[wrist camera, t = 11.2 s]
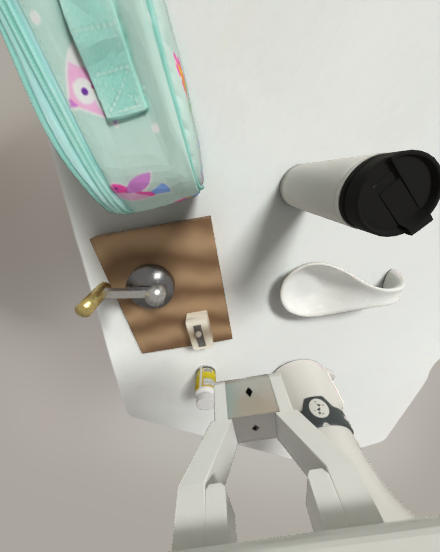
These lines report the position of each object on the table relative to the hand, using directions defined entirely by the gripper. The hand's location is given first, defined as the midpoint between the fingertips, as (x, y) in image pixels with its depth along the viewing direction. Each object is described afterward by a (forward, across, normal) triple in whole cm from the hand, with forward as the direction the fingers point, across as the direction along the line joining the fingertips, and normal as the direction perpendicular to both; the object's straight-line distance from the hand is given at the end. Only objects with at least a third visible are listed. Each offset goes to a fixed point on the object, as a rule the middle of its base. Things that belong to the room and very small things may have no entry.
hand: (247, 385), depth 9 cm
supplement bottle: (+29, +9, +34) cm, 46 cm away
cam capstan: (+27, +16, +6) cm, 32 cm away
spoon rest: (+30, -21, +14) cm, 39 cm away
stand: (+29, +11, +10) cm, 33 cm away
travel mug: (+29, -14, -5) cm, 33 cm away
